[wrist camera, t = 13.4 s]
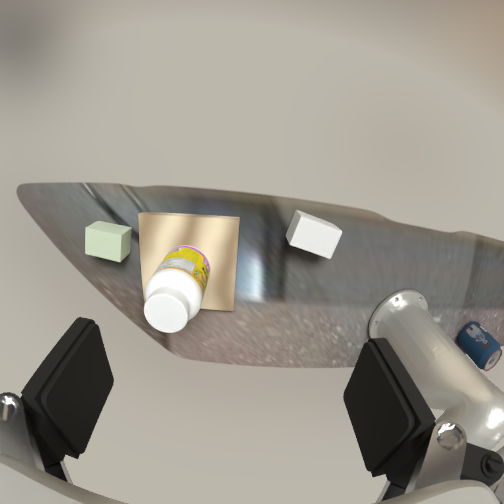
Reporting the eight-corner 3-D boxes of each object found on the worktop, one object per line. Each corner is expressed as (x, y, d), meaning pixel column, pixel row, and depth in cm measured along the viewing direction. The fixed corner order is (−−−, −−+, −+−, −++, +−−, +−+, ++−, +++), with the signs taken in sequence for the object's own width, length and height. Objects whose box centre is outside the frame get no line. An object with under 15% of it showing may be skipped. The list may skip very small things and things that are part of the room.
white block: (333, 223, 39) (342, 231, 35) (322, 248, 40) (330, 258, 36) (295, 209, 38) (301, 215, 34) (285, 235, 39) (289, 244, 35)
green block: (132, 227, 38) (121, 235, 34) (130, 252, 39) (120, 262, 36) (98, 220, 37) (85, 227, 34) (97, 244, 39) (85, 253, 35)
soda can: (464, 345, 49) (488, 374, 38) (451, 340, 48) (478, 372, 37) (479, 322, 47) (507, 349, 36) (468, 316, 46) (498, 345, 35)
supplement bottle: (204, 292, 40) (189, 348, 28) (161, 278, 39) (131, 329, 27) (216, 251, 38) (204, 297, 26) (170, 237, 37) (138, 277, 25)
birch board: (239, 217, 38) (239, 219, 36) (233, 305, 43) (233, 311, 41) (142, 211, 37) (138, 214, 36) (147, 298, 42) (144, 302, 40)
